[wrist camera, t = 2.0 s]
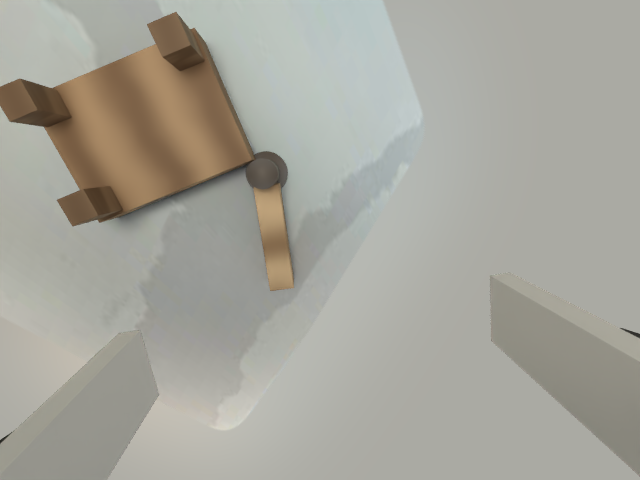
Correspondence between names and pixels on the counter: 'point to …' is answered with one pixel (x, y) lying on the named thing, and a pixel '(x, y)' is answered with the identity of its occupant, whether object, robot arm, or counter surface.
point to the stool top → (139, 125)
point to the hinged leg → (272, 222)
